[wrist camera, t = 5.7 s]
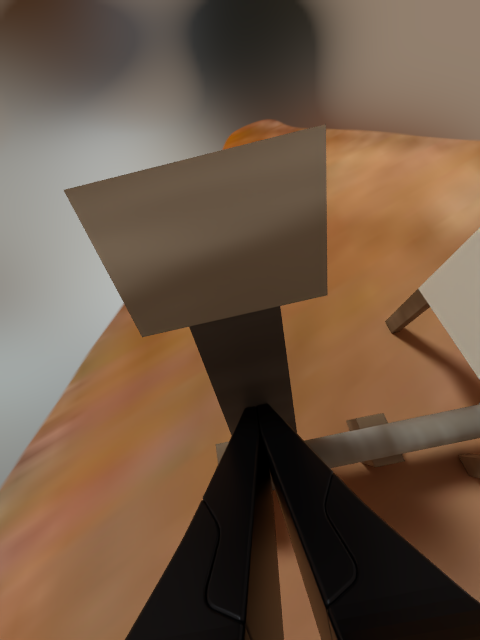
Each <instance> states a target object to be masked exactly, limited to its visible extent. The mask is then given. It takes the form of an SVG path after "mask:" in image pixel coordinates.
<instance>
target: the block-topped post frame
mask: <svg viewBox="0 0 480 640" xmlns="http://www.w3.org/2000/svg"><path fill="white" fill-rule="evenodd" d="M64 192H65V194H66V195H67V197H68V199H69V201H70V203H71V205H72V207H73V208H74V210H75V212H76V214H77V216H78V218H79V220H80V221H81V223H82V225H83V227H84V229H85V231H86V233H87V235H88V237H89V238H90V240H91V242H92V244H93V246H94V248H95V249H96V252H97V253H98V255H99V257H100V259H101V261H102V263H103V265H104V266H105V268H106V270H107V272H108V274H109V276H110V278H111V279H112V281H113V283H114V285H115V287H116V289H117V291H118V293H119V294H120V296H121V298H122V300H123V302H124V304H125V306H126V308H127V309H128V311H129V313H130V315H131V317H132V319H133V321H134V323H135V324H136V326H137V328H138V330H139V332H140V334H141V336H142V337H145V336H149V335H154V334H158V333H163V332H167V331H171V330H176V329H180V328H185V327H190V330H191V332H192V335H193V337H194V340H195V343H196V345H197V348H198V350H199V353H200V355H201V358H202V361H203V363H204V366H205V368H206V371H207V373H208V376H209V378H210V381H211V384H212V386H213V389H214V391H215V394H216V396H217V399H218V402H219V404H220V407H221V409H222V412H223V414H224V417H225V419H226V422H227V425H228V427H229V430H230V432H231V435H232V434H233V432H234V430H235V428H236V426H237V424H238V421H239V419H240V417H241V415H242V413H243V411H244V409H245V408H247V407H252V406H256V407H257V406H258V405H261V404H266V403H268V404H269V405H270V406H271V407H272V408H273V409H274V410H275V411H276V412H277V413H278V414H279V415H280V416H281V417H282V418H283V419H284V420H285V422H286V423H287V424H288V425H289V426H290V427H291V428H292V429H293V430H294V431H295V432H296V433H297V430H296V422H295V415H294V407H293V400H292V392H291V385H290V377H289V370H288V362H287V354H286V347H285V339H284V332H283V324H282V317H281V309H280V306H282V305H286V304H290V303H295V302H299V301H304V300H308V299H312V298H317V297H321V296H326V295H327V204H326V124H325V125H321V126H318V127H314V128H309V129H305V130H301V131H297V132H293V133H289V134H285V135H281V136H277V137H273V138H269V139H265V140H261V141H257V142H253V143H249V144H245V145H241V146H237V147H233V148H229V149H225V150H221V151H217V152H213V153H209V154H205V155H202V156H197V157H193V158H190V159H186V160H182V161H178V162H174V163H170V164H166V165H162V166H158V167H154V168H150V169H146V170H142V171H138V172H134V173H130V174H126V175H122V176H118V177H114V178H110V179H106V180H102V181H98V182H94V183H90V184H86V185H82V186H78V187H74V188H70V189H66V190H64ZM476 438H480V403H479V405H474V406H470V407H465V408H460V409H455V410H450V411H445V412H441V413H436V414H431V415H426V416H421V417H417V418H412V419H407V420H402V421H397V422H392V423H388V424H383V425H378V426H373V427H368V428H364V429H359V430H354V431H349V432H344V433H339V434H335V435H330V436H325V437H320V438H315V439H311V440H306V441H304V442H305V443H306V444H307V445H308V446H309V447H310V448H311V449H312V450H313V451H314V452H315V453H316V454H317V455H318V456H319V457H320V458H321V459H322V460H323V462H324V463H325V464H326V465H327V466H328V467H329V468H334V467H339V466H343V465H348V464H353V463H358V462H363V461H368V460H373V459H378V458H383V457H388V456H393V455H398V454H403V453H408V452H412V451H417V450H422V449H427V448H432V447H437V446H442V445H447V444H452V443H457V442H462V441H467V440H472V439H476ZM270 475H271V473H270ZM271 483H272V490H275V487H274V484H273V480H272V477H271Z"/></svg>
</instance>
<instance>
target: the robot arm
mask: <svg viewBox="0 0 480 640" xmlns="http://www.w3.org/2000/svg"><path fill="white" fill-rule="evenodd" d="M270 473H271V475H270ZM271 477H272V480H273V484H274V487H275V491H276V494H277V497H278V500H279V504H280V507H281V510H282V513H283V517H284V520H285V523H286V526H287V530H288V533H289V536H290V539H291V543H292V546H293V549H294V552H295V556H296V559H297V562H298V565H299V568H300V572H301V575H302V578H303V581H304V585H305V588H306V591H307V594H308V598H309V601H310V604H311V607H312V611H313V614H314V617H315V620H316V624H317V627H318V630H319V633H320V637H321V640H480V603H479V602H478V601H477V600H475V599H474V598H473V597H472V596H470V595H469V594H468V593H467V592H466V591H464V590H463V589H462V588H461V587H460V586H459V585H457V584H456V583H455V582H454V581H453V580H452V579H450V578H449V577H448V576H447V575H446V574H445V573H443V572H442V571H441V570H440V569H439V568H438V567H436V566H435V565H434V564H433V563H432V562H431V561H430V560H428V559H427V558H426V557H425V556H424V555H423V554H421V553H420V552H419V551H418V550H417V549H416V548H415V547H413V546H412V545H411V544H410V543H409V542H408V541H406V540H405V539H404V538H403V537H402V536H401V535H399V534H398V533H397V532H396V531H395V530H394V529H393V528H391V527H390V526H389V525H388V524H387V523H386V522H385V521H383V520H382V519H381V518H380V517H379V516H378V515H377V514H376V513H375V512H373V511H372V510H371V509H370V508H369V507H368V506H367V505H366V504H365V503H364V502H363V501H362V500H361V499H360V498H359V497H358V496H357V495H356V494H355V493H354V492H353V491H352V490H351V489H349V488H348V487H347V486H346V484H345V483H344V482H343V481H342V480H341V479H340V478H339V477H338V476H337V475H336V474H334V473H333V471H332V470H331V469H330V468H329V467H328V466H327V465H326V464H325V463H324V462H323V460H322V459H321V458H320V457H319V456H318V455H317V454H316V453H315V452H314V451H313V450H312V449H311V448H310V447H309V446H308V445H307V444H306V443H305V442H304V440H303V439H302V438H301V437H300V436H299V435H298V434H297V433H296V432H295V431H294V430H293V429H292V428H291V427H290V426H289V425H288V424H287V423H286V422H285V420H284V419H283V418H282V417H281V416H280V415H279V414H278V413H277V412H276V411H275V410H274V409H273V408H272V407H271V406H270V405H269V404H268V403H266V404H261V405H258V406H257V407H256V406H252V407H247V408H245V409H244V411H243V413H242V415H241V417H240V419H239V421H238V424H237V426H236V428H235V430H234V432H233V434H232V436H231V439H230V441H229V443H228V445H227V447H226V449H225V451H224V454H223V456H222V458H221V460H220V462H219V464H218V466H217V468H216V471H215V473H214V475H213V477H212V479H211V481H210V483H209V486H208V488H207V490H206V492H205V494H204V496H203V500H202V501H201V502H200V504H199V507H198V509H197V511H196V513H195V515H194V517H193V519H192V521H191V523H190V525H189V527H188V529H187V531H186V533H185V535H184V537H183V539H182V541H181V543H180V545H179V546H178V548H177V550H176V552H175V554H174V555H173V557H172V559H171V561H170V563H169V564H168V566H167V568H166V570H165V571H164V573H163V575H162V577H161V578H160V580H159V582H158V584H157V585H156V587H155V589H154V590H153V592H152V594H151V596H150V597H149V599H148V601H147V602H146V604H145V606H144V608H143V609H142V611H141V613H140V615H139V616H138V618H137V620H136V621H135V623H134V625H133V627H132V628H131V630H130V632H129V634H128V635H127V637H126V639H125V640H284V633H283V621H282V608H281V596H280V583H279V570H278V558H277V545H276V533H275V520H274V507H273V495H272V483H271Z"/></svg>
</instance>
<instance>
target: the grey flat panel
mask: <svg viewBox="0 0 480 640" xmlns="http://www.w3.org/2000/svg"><path fill="white" fill-rule="evenodd" d="M418 289H419V291H420V292H421V294H422V295H423V297H424V298H425V299H426V301H427V302H428V304H429V305H430V307H431V308H432V310H433V311H434V313H435V314H436V316H437V317H438V319H439V320H440V322H441V323H442V325H443V326H444V328H445V329H446V331H447V332H448V334H449V335H450V337H451V338H452V340H453V341H454V343H455V344H456V346H457V347H458V348H459V350H460V351H461V353H462V354H463V356H464V357H465V359H466V360H467V362H468V363H469V365H470V366H471V368H472V369H473V371H474V372H475V374H476V375H477V377H478V378H479V380H480V228H479V229H478V230H477V231H476V232H475V233H474V234H473V235H472V236H471V237H470V238H469V239H468V240H467V241H466V242H465V243H464V244H463V245H462V246H461V247H460V248H459V249H458V250H457V251H456V252H455V253H454V254H453V255H452V256H451V257H450V258H449V259H448V260H447V261H446V262H445V263H444V264H443V265H442V266H441V267H440V268H439V269H438V270H437V271H436V272H435V273H434V274H433V275H432V276H431V277H429V278H428V279H427V280H426V281H425V282H424V283H423V284H422V285H421V286H420V287H419V288H418Z"/></svg>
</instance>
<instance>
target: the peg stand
mask: <svg viewBox="0 0 480 640" xmlns="http://www.w3.org/2000/svg"><path fill="white" fill-rule="evenodd" d="M429 307H430V305H429V304H428V302H427V301H426V299H425V298H424V297H423V295H422V294H421V292H420V291H419V289H417V290H416V291H415V292H414V293H413V294H412V295H411V296H410V297H409V298H408V299H407V300H406V301H405V302H404V303H403V304H402V305H401V306H400V307H399V308H398V309H397V310H396V311H395V312H394V313H393V314H392V315H391V316H390V317H389V318H388V319H387V320H386V321H385V322H386V324H387V326H388V328H389V329H390V331H391V333H394V332H398V331H400V330H402V329H403V328H404V327H405V326H407V325H408V324H409V323H410V322H412V321H413V320H414V319H415V318H417V317H418V316H419V315H420V314H422V313H423V312H424V311H425V310H427V309H428V308H429ZM347 424H348V427H349V429H350V431H354V430H359V429H364V428H368V427H373V426H378V425H383V424H388V422H387V420H386V418H385V415H384V413H382V414H376V415H371V416H366V417H361V418H356V419H352V420H347ZM228 443H229V442H225V443H220V444H216V450H217V459H218V464H219V462H220V460H221V458H222V456H223V454H224V451H225V449H226V447H227V445H228ZM459 458H460V459H461V461H462V463H463V465H464V467H465V469H466V470H467V472H468V474H469V476H472V477H477V478H480V455H476V454H465V455H460V456H459ZM403 461H405V460H404V458H403V456H402V454H398V455H393V456H388V457H383V458H378V459H373V460H368V461H363V462H362V463H364V464H367V465H370V466H373V467H378V466H383V465H388V464H393V463H398V462H403Z"/></svg>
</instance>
